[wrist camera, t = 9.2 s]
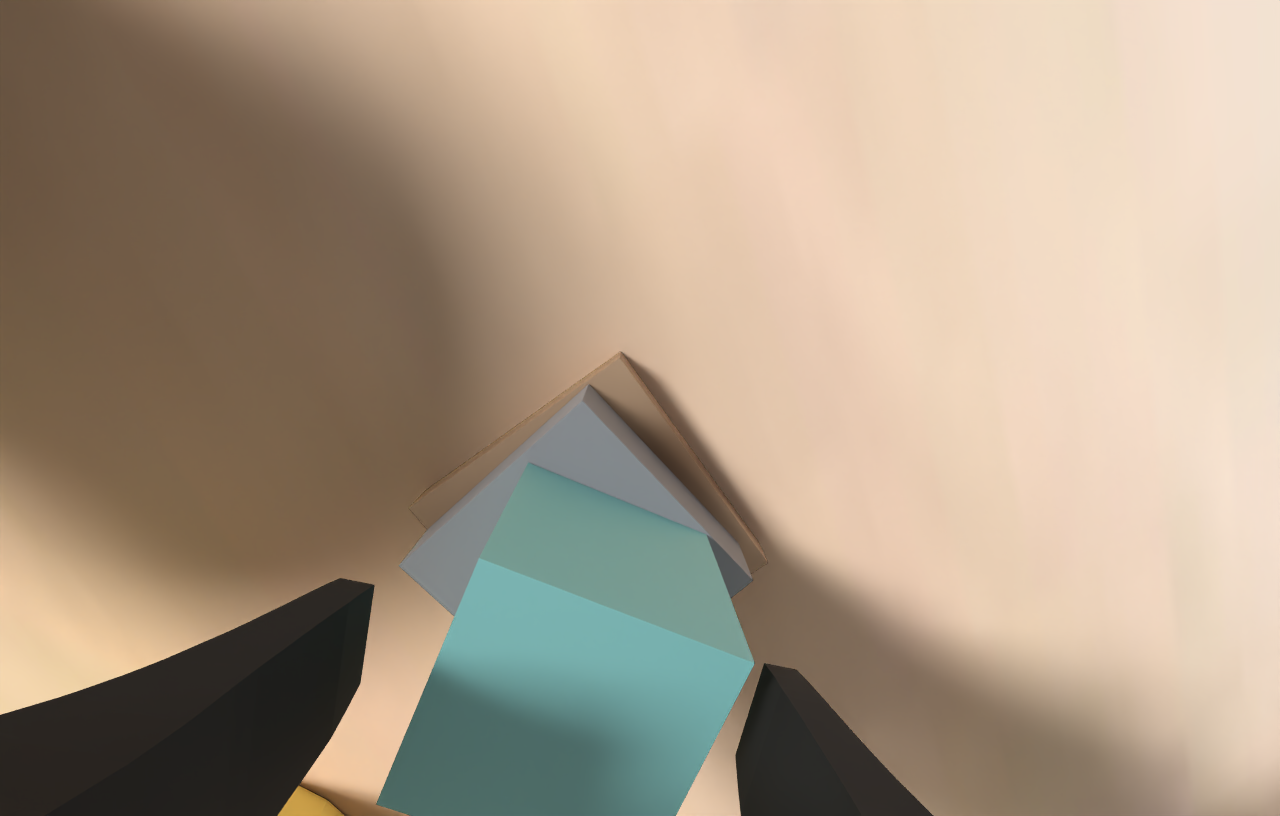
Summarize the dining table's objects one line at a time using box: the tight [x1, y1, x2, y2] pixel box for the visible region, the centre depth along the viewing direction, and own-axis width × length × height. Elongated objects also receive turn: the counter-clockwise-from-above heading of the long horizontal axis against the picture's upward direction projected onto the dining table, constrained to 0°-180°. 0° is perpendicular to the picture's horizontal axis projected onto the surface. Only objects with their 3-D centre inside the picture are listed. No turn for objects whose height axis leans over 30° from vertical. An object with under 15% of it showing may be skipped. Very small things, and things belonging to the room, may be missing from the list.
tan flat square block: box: [409, 352, 768, 574], centre depth 17 cm, size 7×7×2 cm
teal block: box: [376, 463, 755, 816], centre depth 12 cm, size 4×4×5 cm
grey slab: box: [399, 384, 753, 617], centre depth 15 cm, size 6×6×2 cm
